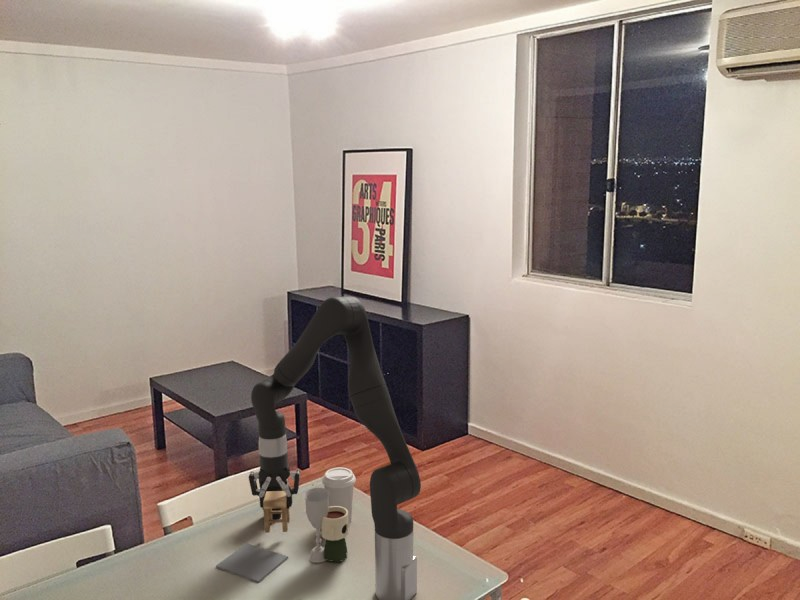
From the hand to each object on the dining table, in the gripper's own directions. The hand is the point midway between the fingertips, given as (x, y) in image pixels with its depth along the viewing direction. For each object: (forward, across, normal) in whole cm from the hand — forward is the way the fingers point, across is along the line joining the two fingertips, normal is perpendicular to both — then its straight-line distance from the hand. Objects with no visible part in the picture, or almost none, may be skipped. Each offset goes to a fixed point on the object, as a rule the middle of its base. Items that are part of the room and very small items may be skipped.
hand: (276, 507), depth 188 cm
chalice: (+10, -12, +9) cm, 18 cm away
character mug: (+10, -16, +9) cm, 21 cm away
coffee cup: (+10, -17, -9) cm, 21 cm away
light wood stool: (+6, 0, 0) cm, 6 cm away
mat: (+10, +5, +10) cm, 15 cm away
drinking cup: (+10, +3, -13) cm, 16 cm away
